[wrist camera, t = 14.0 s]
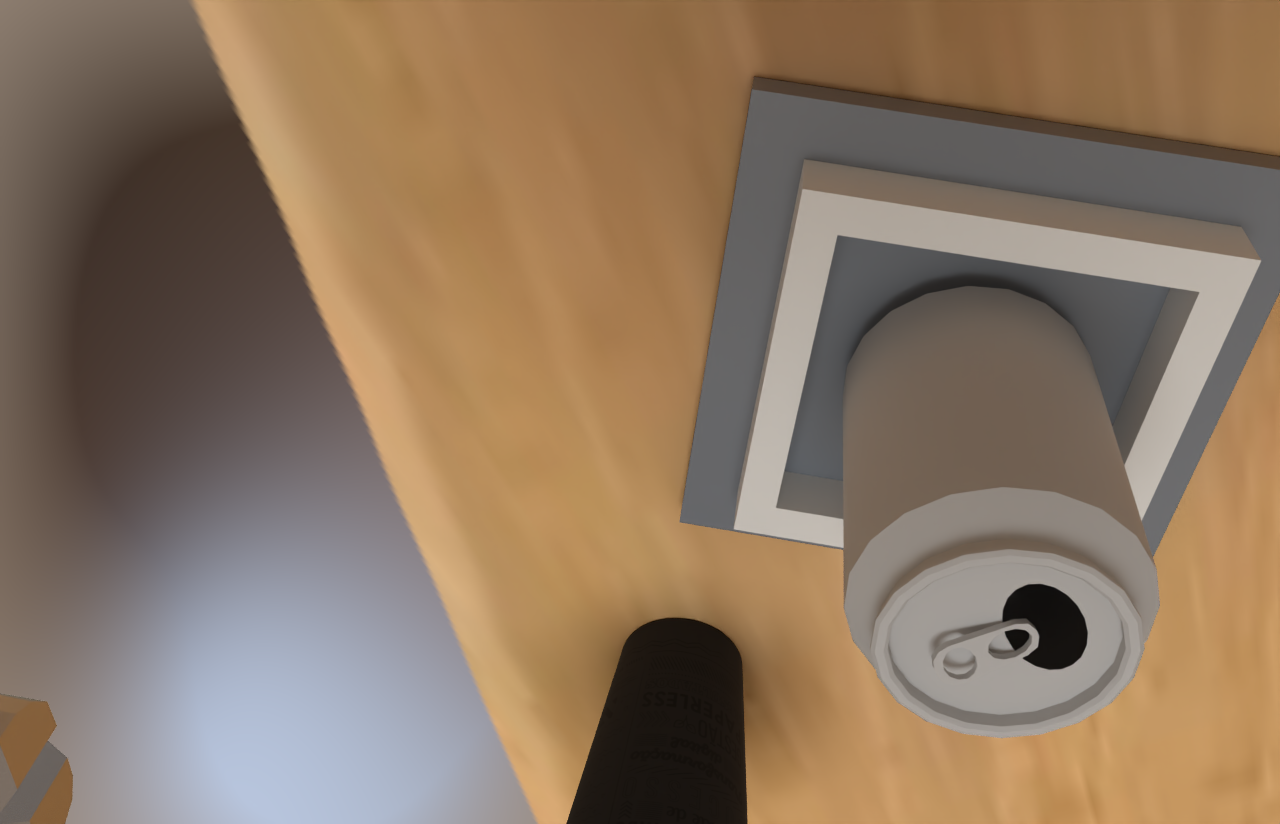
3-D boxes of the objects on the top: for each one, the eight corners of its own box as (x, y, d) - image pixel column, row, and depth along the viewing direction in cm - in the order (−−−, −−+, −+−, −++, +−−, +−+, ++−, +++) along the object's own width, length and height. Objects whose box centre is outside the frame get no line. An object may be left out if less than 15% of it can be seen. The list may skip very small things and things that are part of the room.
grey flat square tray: (754, 76, 35) (747, 116, 32) (1322, 163, 34) (1359, 210, 32) (682, 504, 44) (673, 560, 42) (1127, 579, 44) (1144, 640, 41)
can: (1116, 433, 39) (1208, 729, 29) (888, 496, 42) (904, 786, 32) (1051, 236, 35) (1131, 498, 26) (807, 318, 38) (796, 584, 28)
